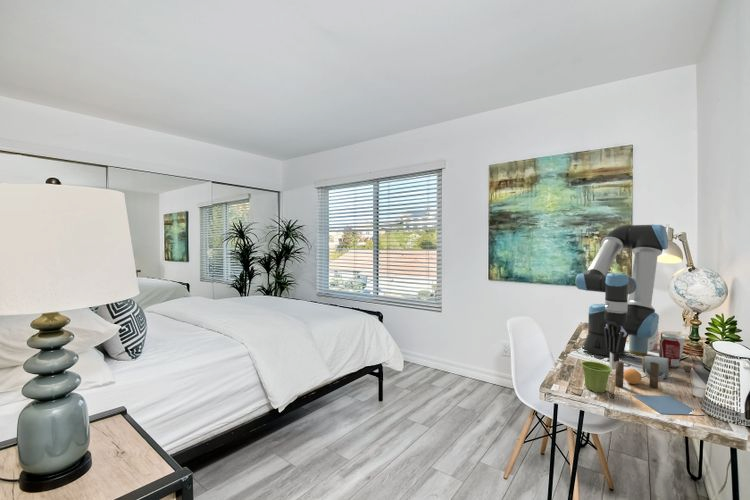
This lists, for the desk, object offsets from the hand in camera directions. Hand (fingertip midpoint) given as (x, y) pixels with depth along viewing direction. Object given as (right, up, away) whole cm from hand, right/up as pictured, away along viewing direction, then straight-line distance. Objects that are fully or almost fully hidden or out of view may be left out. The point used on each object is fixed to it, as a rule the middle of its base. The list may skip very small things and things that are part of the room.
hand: (613, 368), depth 140 cm
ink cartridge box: (+40, -2, +33) cm, 52 cm away
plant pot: (-17, -3, -15) cm, 23 cm away
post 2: (+5, -2, -13) cm, 15 cm away
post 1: (-7, -2, -13) cm, 14 cm away
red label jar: (+42, -2, +21) cm, 47 cm away
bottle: (+29, -2, +25) cm, 39 cm away
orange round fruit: (0, 0, -10) cm, 10 cm away
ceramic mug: (+15, -3, -3) cm, 15 cm away
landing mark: (-1, -3, -27) cm, 27 cm away
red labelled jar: (+31, -2, +9) cm, 32 cm away
